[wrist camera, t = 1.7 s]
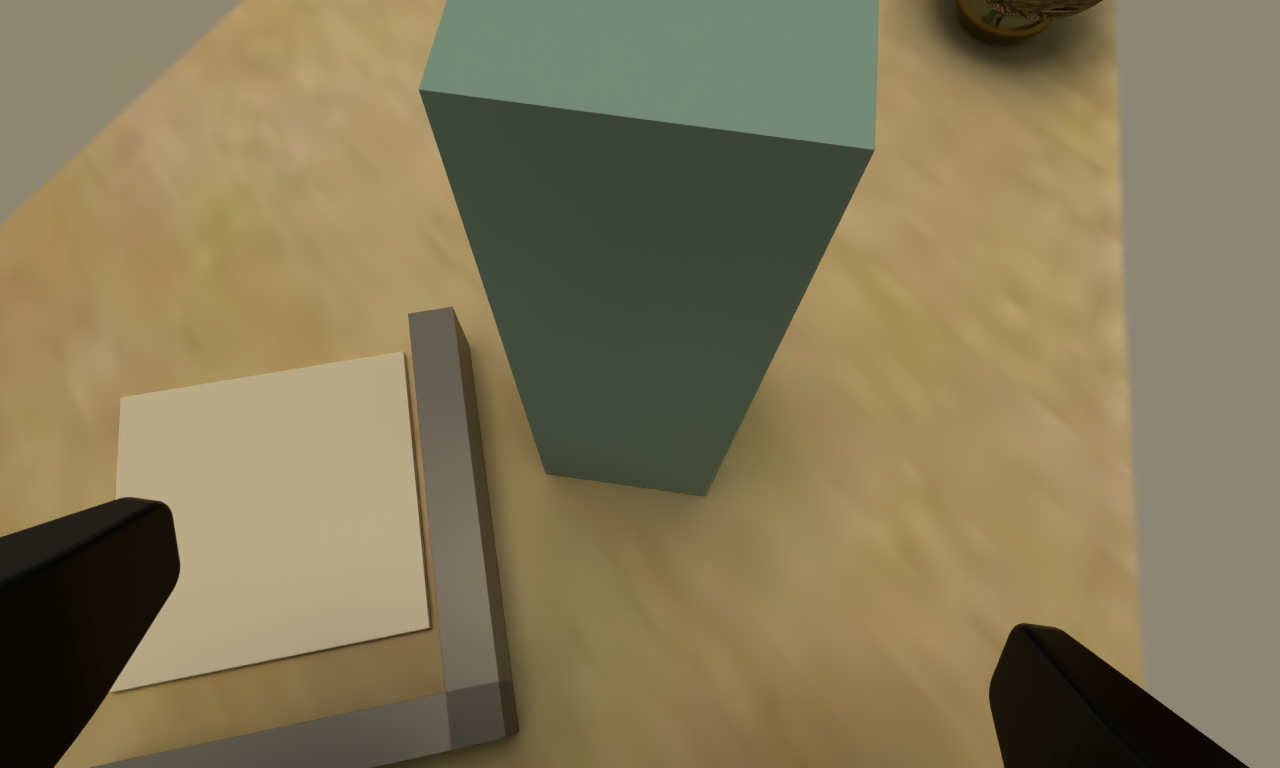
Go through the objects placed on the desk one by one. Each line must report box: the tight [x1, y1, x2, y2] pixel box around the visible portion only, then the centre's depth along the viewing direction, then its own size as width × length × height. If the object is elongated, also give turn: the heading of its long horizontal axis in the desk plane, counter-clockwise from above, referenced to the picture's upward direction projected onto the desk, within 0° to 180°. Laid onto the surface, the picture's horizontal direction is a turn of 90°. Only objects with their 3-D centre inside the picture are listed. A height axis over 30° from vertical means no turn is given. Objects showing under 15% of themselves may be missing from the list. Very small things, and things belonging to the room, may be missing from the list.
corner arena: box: [90, 307, 519, 768], centre depth 19 cm, size 11×10×2 cm
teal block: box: [419, 0, 879, 496], centre depth 15 cm, size 5×5×15 cm
